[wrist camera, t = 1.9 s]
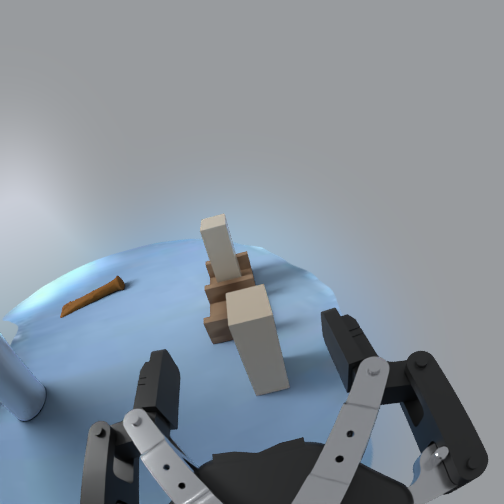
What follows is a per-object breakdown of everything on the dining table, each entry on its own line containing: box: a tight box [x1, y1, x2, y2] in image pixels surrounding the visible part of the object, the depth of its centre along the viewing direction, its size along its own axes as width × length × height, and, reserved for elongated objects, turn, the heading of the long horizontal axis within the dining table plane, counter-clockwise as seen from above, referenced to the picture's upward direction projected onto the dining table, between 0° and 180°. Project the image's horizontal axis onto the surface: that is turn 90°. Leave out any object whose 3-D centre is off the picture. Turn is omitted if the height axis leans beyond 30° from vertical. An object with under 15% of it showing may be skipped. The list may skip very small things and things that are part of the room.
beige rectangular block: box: [226, 284, 290, 396], centre depth 29 cm, size 4×5×12 cm
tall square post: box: [200, 214, 242, 283], centre depth 47 cm, size 4×5×12 cm
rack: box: [204, 251, 256, 344], centre depth 46 cm, size 8×18×4 cm, turn 7°
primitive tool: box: [60, 276, 125, 318], centre depth 57 cm, size 19×6×4 cm, turn 115°
